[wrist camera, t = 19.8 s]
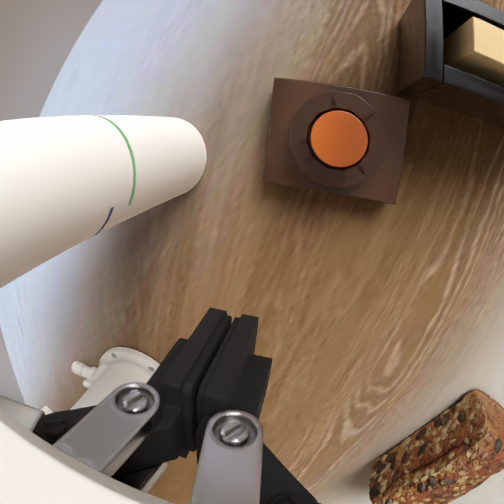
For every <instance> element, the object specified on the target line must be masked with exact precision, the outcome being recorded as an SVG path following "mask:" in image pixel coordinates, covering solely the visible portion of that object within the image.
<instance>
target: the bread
mask: <svg viewBox="0 0 504 504" xmlns="http://www.w3.org/2000/svg"><path fill="white" fill-rule="evenodd" d="M503 469H504V408H503V407H502V406H501V405H500V404H499V403H497V402H496V401H495V400H494V399H492V398H490V397H489V395H487V394H486V393H484V392H483V391H481V390H479V389H475V390H473V391H472V392H470V393H466V395H465V396H464V398H463V400H462V401H460V402H459V403H458V404H456V405H454V406H452V407H451V409H448V410H446V411H444V412H443V413H442V414H441V415H440V416H438V417H436V418H435V419H434V420H433V421H431V422H430V423H428V424H427V425H425V426H424V427H423V428H421V429H420V430H418V431H417V432H415V433H414V434H412V435H411V436H409V437H408V438H406V439H405V440H403V441H402V442H401V443H400V444H399V445H398V446H396V447H394V449H393V450H390V451H389V452H388V453H387V454H385V455H383V456H382V457H378V458H377V459H376V460H375V461H374V463H373V465H372V472H371V475H369V476H370V479H369V480H370V484H369V486H370V492H369V495H370V500H371V502H372V503H373V504H448V503H450V502H452V501H453V500H455V499H457V498H459V497H461V496H462V495H465V494H466V493H468V492H469V491H470V490H472V489H474V488H476V487H478V486H479V485H481V484H482V483H483V482H484V481H485V480H486V479H488V478H489V477H490V476H492V475H493V474H495V473H498V472H500V471H501V470H503Z"/></svg>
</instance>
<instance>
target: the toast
mask: <svg viewBox="0 0 504 504" xmlns="http://www.w3.org/2000/svg"><path fill="white" fill-rule="evenodd" d="M443 65H447V66H450V67H453V68H456V69H459V70H462V71H464V72H467V73H470V74H472V75H475V76H478V77H480V78H483V79H485V80H488V81H490V82H492V83H495V84H497V85H499V86H502V87H504V30H502V29H500V28H498V27H496V26H494V25H492V24H489V23H487V22H485V21H483V20H480V19H478V18H476V17H472V18H470V19H469V20H468V21H466V22H465V23H464V24H463V25H461V26H460V27H459V28H458V29H456V30H455V31H454V32H453V33H451V34H450V35H449V36H448V37H446V38H445V39H444V56H443Z"/></svg>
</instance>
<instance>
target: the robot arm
mask: <svg viewBox="0 0 504 504" xmlns="http://www.w3.org/2000/svg"><path fill="white" fill-rule="evenodd" d="M231 321H232V318H231V316H228V315H227V312H226V311H224V310H219V309H214V308H210V309H209V310H208V311H207V313H206V314H205V316H204V317H203V319H202V320H201V322H200V323H199V325H198V326H197V328H196V329H195V330H194V332H193V333H192V335H191V336H190V338H189V339H188V340H187V339H183V338H180V339H179V340H178V341H177V342H176V343H175V345H174V346H173V347H172V349H171V350H170V352H169V353H168V354H167V356H166V357H165V358H164V360H163V361H162V363H161V364H159V363H158V362H156V361H155V360H153V359H152V358H151V357H149V356H147V355H145V354H143V353H141V352H139V351H137V350H134V349H130V348H127V347H114V348H111V349H109V350H107V351H106V352H105V353H104V354H103V355H102V357H101V358H100V361H99V367H98V368H97V367H92V368H91V367H88V366H87V365H85V364H83V363H81V362H79V361H74V362H73V364H72V367H71V370H72V372H73V373H74V374H76V375H78V376H80V377H84V378H85V379H84V381H83V386H84V387H86V388H88V390H87V391H86V392H85V393H84V394H83V395H82V397H81V398H80V399H79V400H78V401H77V402H76V403H75V404H74V406H73V407H72V408H71V409H70V410H66V411H60V412H54V413H50V414H47V415H45V413H44V411H42V410H39V409H36V408H33V407H30V406H28V405H25V404H22V403H20V402H17V401H14V400H12V399H9V398H7V397H4V396H0V504H175V503H172V502H169V501H166V500H163V499H161V498H158V497H155V496H153V495H150V494H148V492H149V491H150V489H151V488H152V487H153V486H154V484H155V483H156V482H157V480H158V479H159V478H160V476H161V475H162V474H163V473H164V471H165V470H166V469H167V467H168V465H169V461H171V460H174V459H177V458H178V456H180V457H184V458H186V457H187V455H188V453H189V451H193V452H194V451H195V450H196V449H197V465H198V467H197V471H196V476H195V480H194V485H193V490H192V494H191V499H190V503H189V504H321V503H318V502H317V501H316V499H315V498H314V497H313V496H312V495H311V494H310V493H309V492H308V491H307V490H306V489H305V488H304V487H303V486H302V485H301V483H300V482H299V481H298V480H297V479H296V478H295V477H294V476H293V475H292V474H291V473H290V472H289V471H288V470H287V469H286V468H285V466H284V465H283V464H282V463H281V462H280V461H279V460H278V459H277V458H276V457H275V455H274V454H273V453H272V452H271V451H270V450H269V449H268V447H267V446H266V445H265V444H264V443H263V427H262V425H261V423H260V422H259V416H260V413H261V409H262V405H263V402H264V398H265V394H266V390H267V385H268V381H269V376H270V370H271V364H272V358H267V357H262V356H257V355H254V351H255V343H256V336H257V328H258V317H254V316H249V315H244V314H242V316H241V318H238V317H235V319H234V321H233V323H232V325H231Z"/></svg>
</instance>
